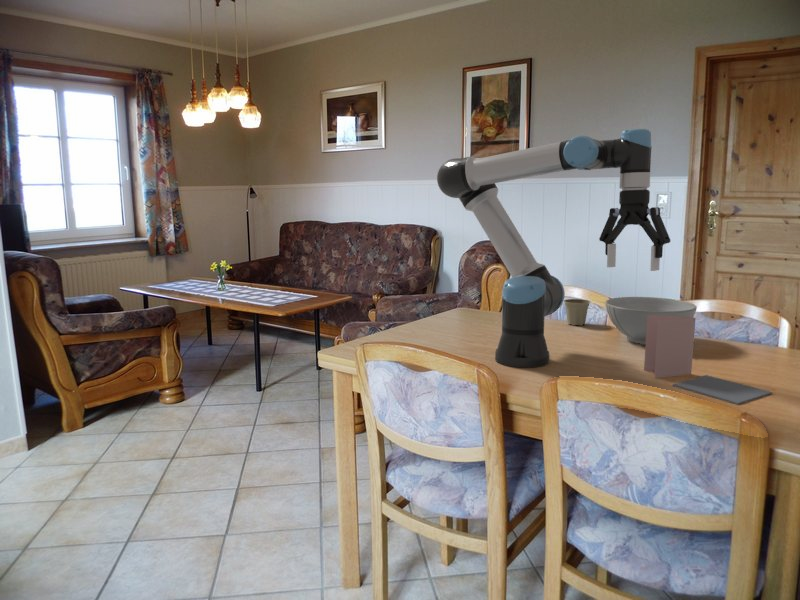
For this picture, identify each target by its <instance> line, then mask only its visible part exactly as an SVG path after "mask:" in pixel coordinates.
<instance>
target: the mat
mask: <svg viewBox="0 0 800 600" xmlns="http://www.w3.org/2000/svg"><path fill="white" fill-rule="evenodd" d="M672 386H673V387H675V388H679V389H683V390H686V391H689V392H693V393H696V394H699V395H702V396H706V397H710V398H713V399H717V400H720V401H725V402H726V403H727V402H728V403H731V404H733V405H737V406H738V405H741V404H744V403H748V402H750V401H753V400H756V399H759V398H762V397H766V396H768V395H772V394H773V392H772V391H770V390H766V389H762V388H759V387H754V386H751V385H747V384H744V383H743V384H742V383H738V382H734V381H731V380H727V379H725V378H724V379H722V378H720V377H715V376H712V375H708V374H706V375H701V376H698V377H695V378H691V379H687V380H684V381H679V382H676V383H673V384H672ZM771 393H772V394H771Z"/></svg>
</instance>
